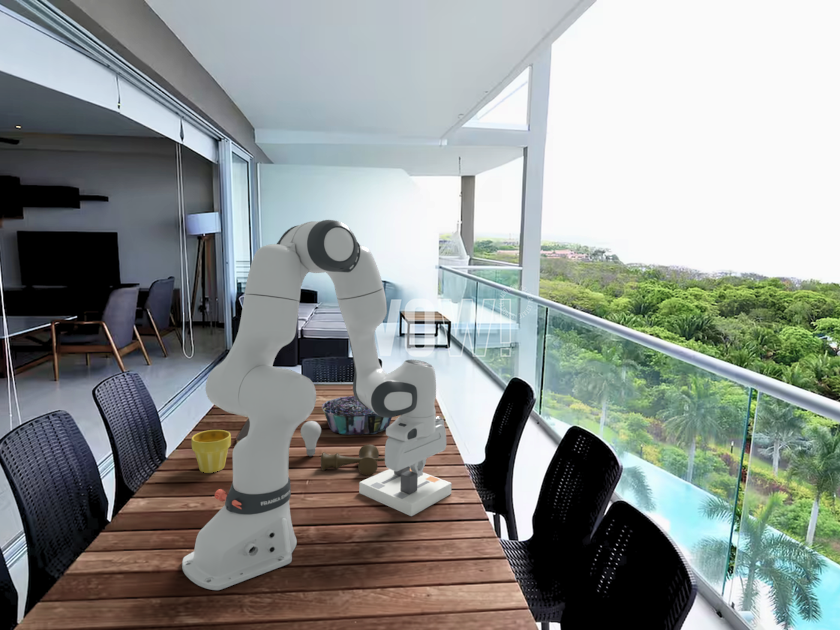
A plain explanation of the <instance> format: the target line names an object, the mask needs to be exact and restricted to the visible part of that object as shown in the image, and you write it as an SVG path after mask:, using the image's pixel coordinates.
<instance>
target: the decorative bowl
mask: <svg viewBox="0 0 840 630" xmlns="http://www.w3.org/2000/svg"><path fill="white" fill-rule="evenodd" d="M321 409H322V411H323V413H324V416H325V419H326V421H327V424H328V426H329V429H330V430H331V432H333V433H335V434H337V433H338V434H340V435H347V436H349V435H350V436H351V435H359V436H360V435H361V434H362V435H369V434H370V435H375V434H379V433H381V432H383V431H386V428H387V427H388V426H390V425H391V421H392V419H393V417H391V418H384V417H381V416H379V415H377V414H376V413H374V412H373V411H372V410H370V409H369V408H368V407H366V406H364V405H362V404H361V403H359V402H358V401H357V399H356V398H355V396H354V395H350V396H347V395H346V396H341V397H340V396H339V397H337V398H333V399H330V400H326V402H324V403H322V404H321Z"/></svg>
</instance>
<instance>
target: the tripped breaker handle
mask: <svg viewBox="0 0 840 630" xmlns="http://www.w3.org/2000/svg"><path fill="white" fill-rule="evenodd" d="M417 481H418V474H417V473H414V472H412V471H409V470H408V471H406V472H404V473H402V474H401V488H400V491H402V492H404V493H407V494H409V495H410V494H411V493H413V492H415V491H417Z"/></svg>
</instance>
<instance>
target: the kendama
mask: <svg viewBox="0 0 840 630" xmlns="http://www.w3.org/2000/svg"><path fill="white" fill-rule="evenodd" d="M379 455H380V453H379V448H378V447H377V446H375V445H374V444H369V443H368V444H364V445H363V446H360V449H359V452H358V456H359V457H354V456H353V457H352V456H344V455H341V454H340V453H338V452H336V453H335V454H327V453H326V452H324V451H323V452H322V453H321V455H320V468H321V470H322V471H325V470H327V469H329V468H331V469H332V468H335V469H336V470H337V469H339V468H340V467H342V466H348V465H354V464H357V467H358V471H359V473H360V474H361V475H363V476H373V475H374V474H376V472H377V470H378V462H385V457H379Z"/></svg>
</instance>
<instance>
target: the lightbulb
mask: <svg viewBox="0 0 840 630" xmlns="http://www.w3.org/2000/svg"><path fill="white" fill-rule="evenodd" d="M321 434H322V428H321V425H320V424H319V422H317V421H314V420H308V421H306V422H303V424H302V426H301V428H300V436H301V438H302V440H303V441H304V445H305V449H306V455H307V456H309V457H313V456H314V455H315V454H316V448H317V442H318V440H319V438H320V436H321Z"/></svg>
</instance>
